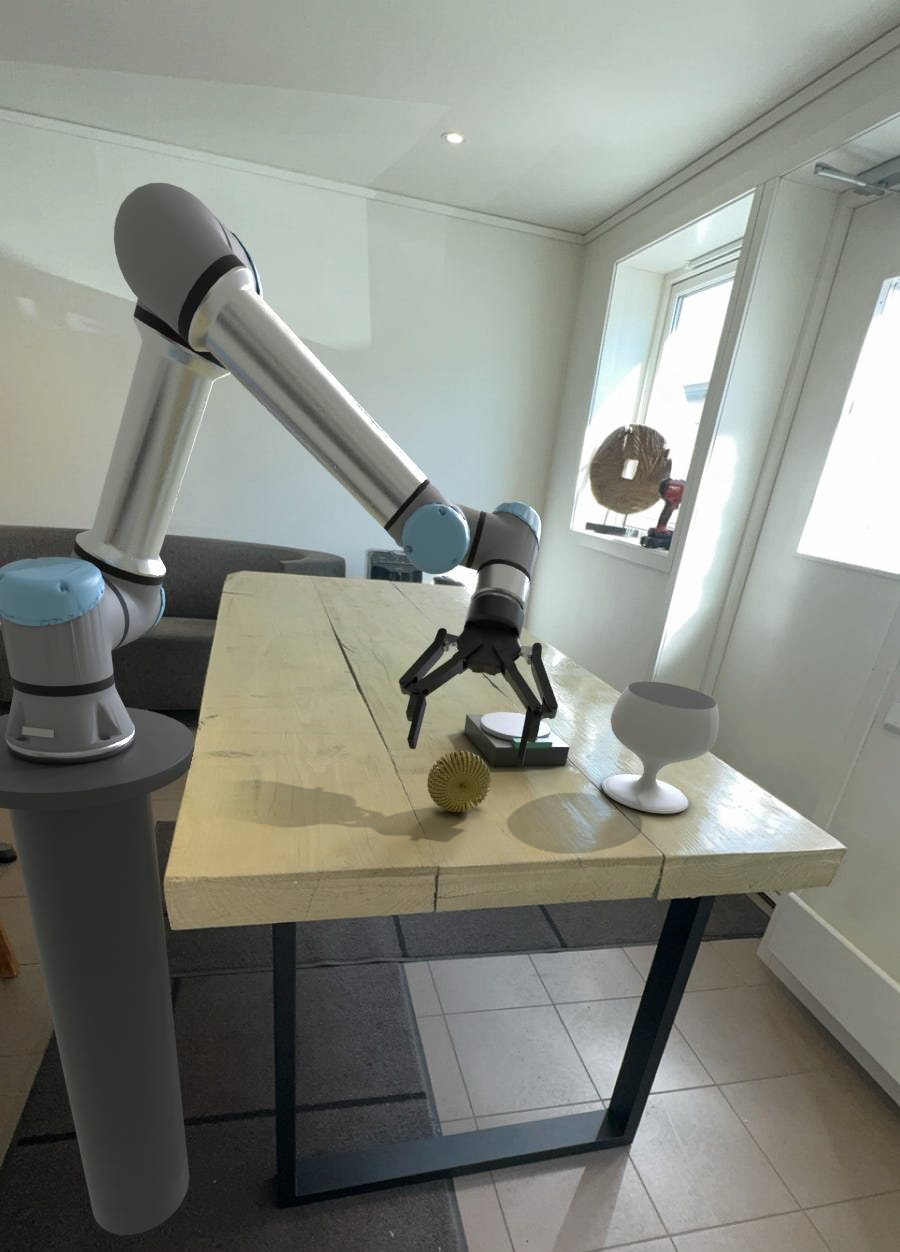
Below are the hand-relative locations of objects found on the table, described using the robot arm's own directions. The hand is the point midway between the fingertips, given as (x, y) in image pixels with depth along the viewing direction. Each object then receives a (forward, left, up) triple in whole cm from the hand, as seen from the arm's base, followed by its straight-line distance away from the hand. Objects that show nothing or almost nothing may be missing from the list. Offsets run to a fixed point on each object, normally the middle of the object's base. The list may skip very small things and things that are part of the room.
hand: (464, 754), depth 81 cm
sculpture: (+1, -1, -7) cm, 8 cm away
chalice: (-1, +28, -7) cm, 29 cm away
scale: (-19, +15, -7) cm, 26 cm away
